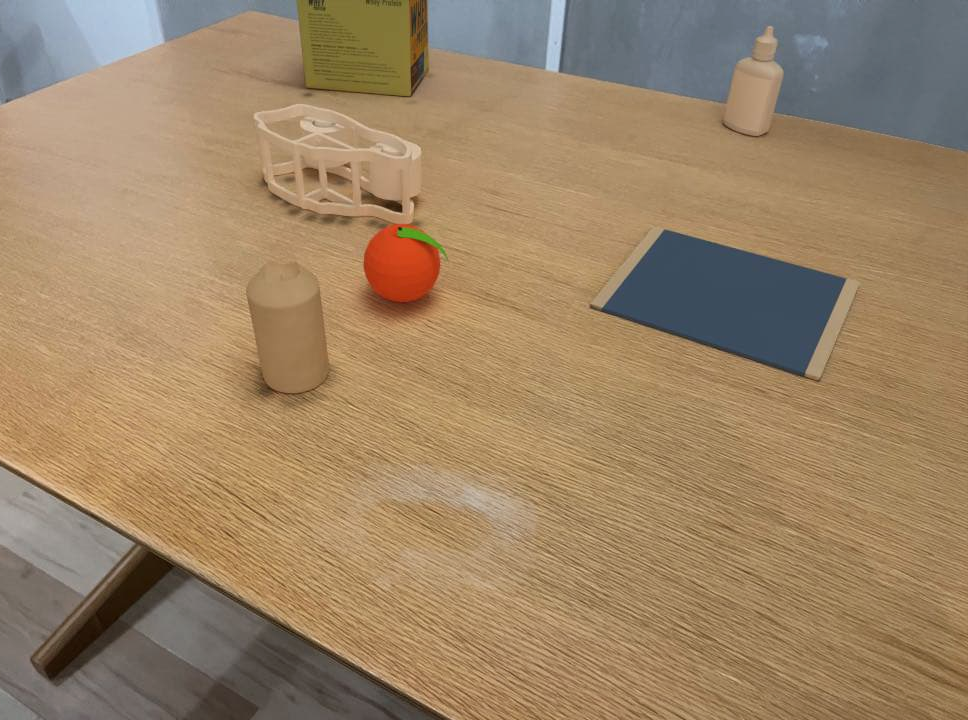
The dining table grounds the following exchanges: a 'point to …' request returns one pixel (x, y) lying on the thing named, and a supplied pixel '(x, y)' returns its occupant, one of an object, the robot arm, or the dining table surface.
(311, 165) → the cream open lattice frame
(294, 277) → the candle
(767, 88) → the eye dropper bottle
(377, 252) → the clementine
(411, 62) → the protein box
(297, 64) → the dining table surface
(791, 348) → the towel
